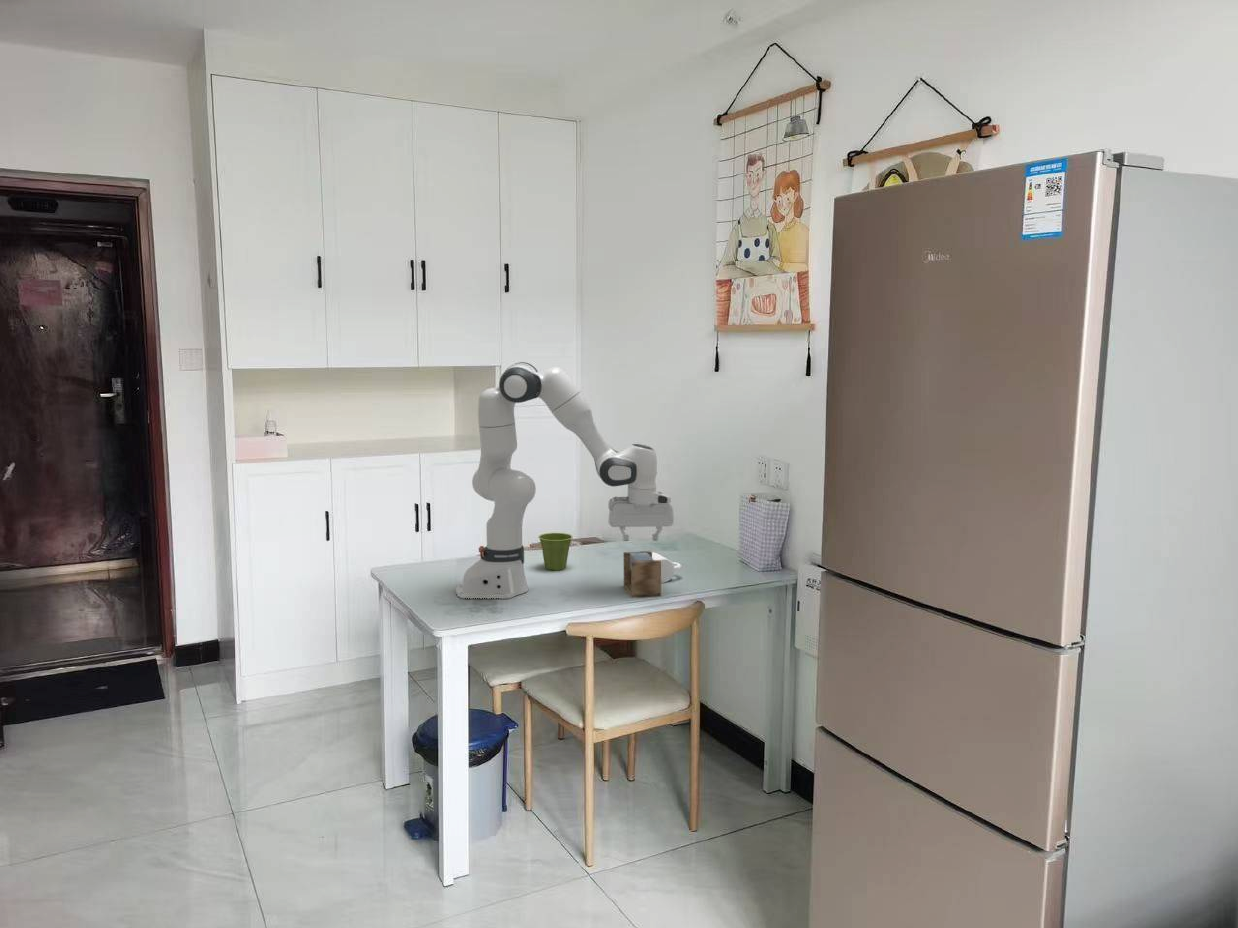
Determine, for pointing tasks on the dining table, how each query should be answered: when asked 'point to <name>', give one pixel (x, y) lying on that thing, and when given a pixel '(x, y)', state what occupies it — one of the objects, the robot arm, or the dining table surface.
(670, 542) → the dining table surface
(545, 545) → the plant pot
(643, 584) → the stand
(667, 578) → the mug
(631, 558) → the light blue block
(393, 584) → the dining table surface
